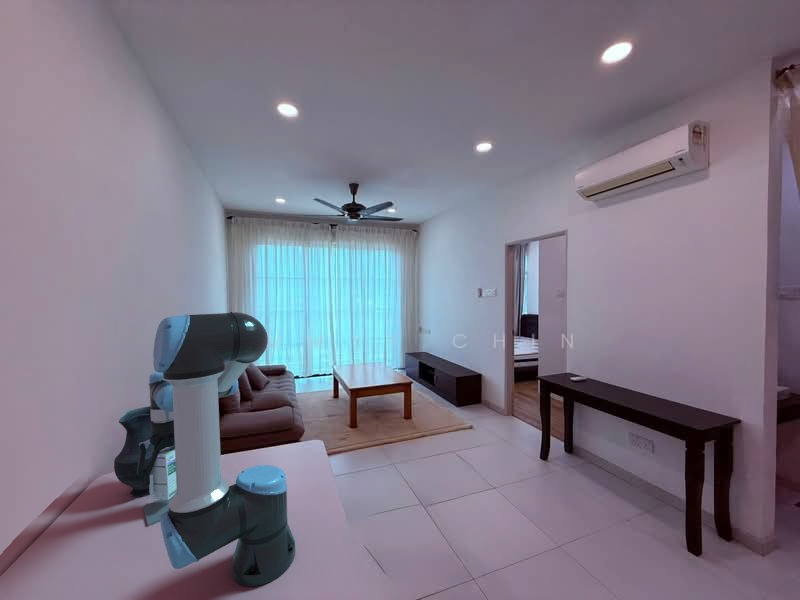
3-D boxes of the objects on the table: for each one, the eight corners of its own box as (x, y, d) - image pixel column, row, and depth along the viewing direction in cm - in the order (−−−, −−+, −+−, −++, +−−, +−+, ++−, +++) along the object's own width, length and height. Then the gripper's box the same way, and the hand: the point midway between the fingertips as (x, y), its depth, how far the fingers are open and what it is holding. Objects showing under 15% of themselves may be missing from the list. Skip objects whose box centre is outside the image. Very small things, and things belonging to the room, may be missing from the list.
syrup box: (168, 500, 100) (166, 455, 100) (152, 498, 101) (150, 454, 100) (183, 489, 106) (181, 446, 105) (168, 487, 106) (166, 445, 106)
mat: (194, 506, 103) (194, 504, 103) (147, 526, 95) (147, 524, 95) (186, 490, 112) (186, 489, 112) (143, 507, 103) (143, 505, 103)
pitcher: (102, 501, 107) (98, 414, 106) (159, 468, 127) (156, 394, 126) (145, 506, 104) (141, 416, 103) (196, 471, 124) (193, 396, 123)
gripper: (199, 407, 112) (201, 470, 113) (122, 425, 98) (125, 497, 99) (204, 412, 107) (207, 478, 108) (124, 432, 93) (127, 508, 93)
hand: (168, 487), depth 103 cm, fingers closed on syrup box, 8 cm apart
